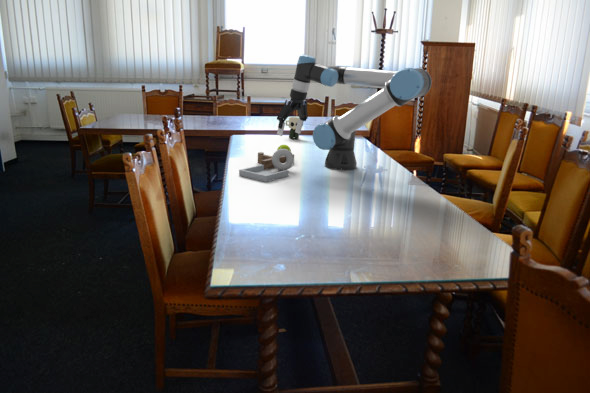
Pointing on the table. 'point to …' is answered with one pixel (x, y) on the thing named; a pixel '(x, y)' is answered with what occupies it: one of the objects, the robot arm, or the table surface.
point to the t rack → (268, 160)
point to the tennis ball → (284, 147)
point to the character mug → (292, 127)
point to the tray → (262, 173)
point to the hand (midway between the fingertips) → (288, 134)
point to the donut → (278, 164)
